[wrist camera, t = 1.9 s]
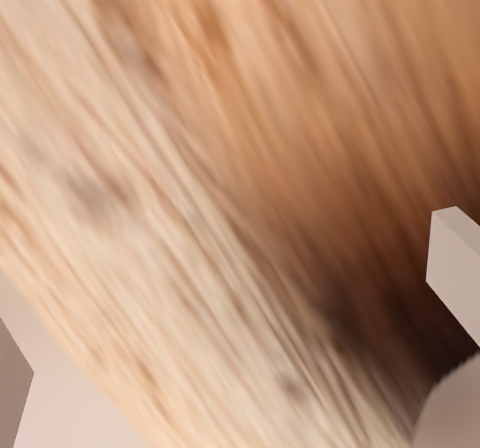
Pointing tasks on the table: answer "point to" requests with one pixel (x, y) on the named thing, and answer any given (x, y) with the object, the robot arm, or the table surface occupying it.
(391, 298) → the table surface
